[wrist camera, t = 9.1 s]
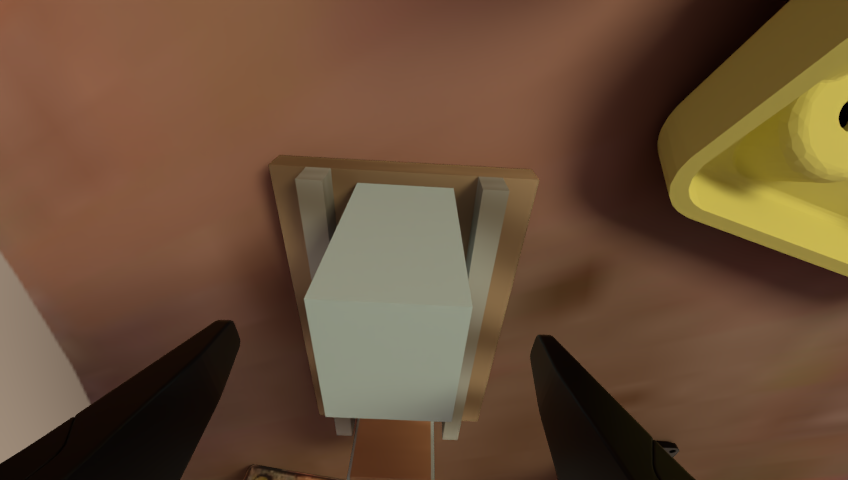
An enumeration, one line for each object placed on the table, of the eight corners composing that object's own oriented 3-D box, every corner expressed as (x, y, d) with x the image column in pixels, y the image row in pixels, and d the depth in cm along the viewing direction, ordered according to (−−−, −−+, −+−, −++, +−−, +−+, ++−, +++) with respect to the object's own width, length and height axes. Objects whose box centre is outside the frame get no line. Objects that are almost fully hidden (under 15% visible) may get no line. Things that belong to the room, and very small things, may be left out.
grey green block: (441, 290, 17) (449, 432, 11) (362, 286, 17) (327, 426, 11) (453, 188, 14) (472, 307, 8) (357, 182, 14) (303, 299, 8)
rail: (475, 404, 24) (494, 555, 17) (323, 398, 24) (281, 548, 17) (531, 169, 15) (625, 296, 8) (279, 155, 14) (141, 272, 7)
